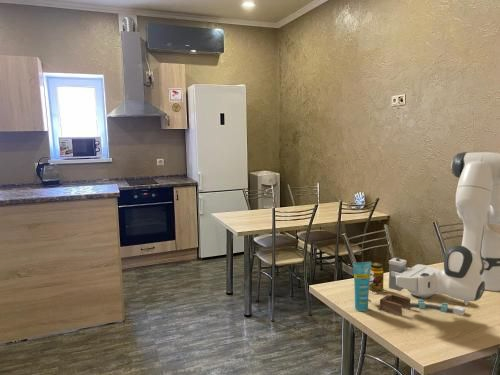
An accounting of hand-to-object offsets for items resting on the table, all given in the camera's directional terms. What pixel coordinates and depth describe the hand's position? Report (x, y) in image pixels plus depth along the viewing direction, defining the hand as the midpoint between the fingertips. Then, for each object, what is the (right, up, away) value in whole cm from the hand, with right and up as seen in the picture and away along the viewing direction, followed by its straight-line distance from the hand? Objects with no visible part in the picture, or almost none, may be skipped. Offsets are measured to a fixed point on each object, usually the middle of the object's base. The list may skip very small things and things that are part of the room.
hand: (395, 271), depth 147 cm
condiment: (-1, -13, +22) cm, 25 cm away
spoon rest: (+22, -14, +12) cm, 28 cm away
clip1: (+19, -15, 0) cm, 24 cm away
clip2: (+12, -15, +3) cm, 19 cm away
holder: (+1, -15, +1) cm, 15 cm away
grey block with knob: (+1, -7, 0) cm, 7 cm away
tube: (-12, -16, +2) cm, 20 cm away
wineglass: (-9, -15, +10) cm, 20 cm away
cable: (+15, -15, +1) cm, 21 cm away
